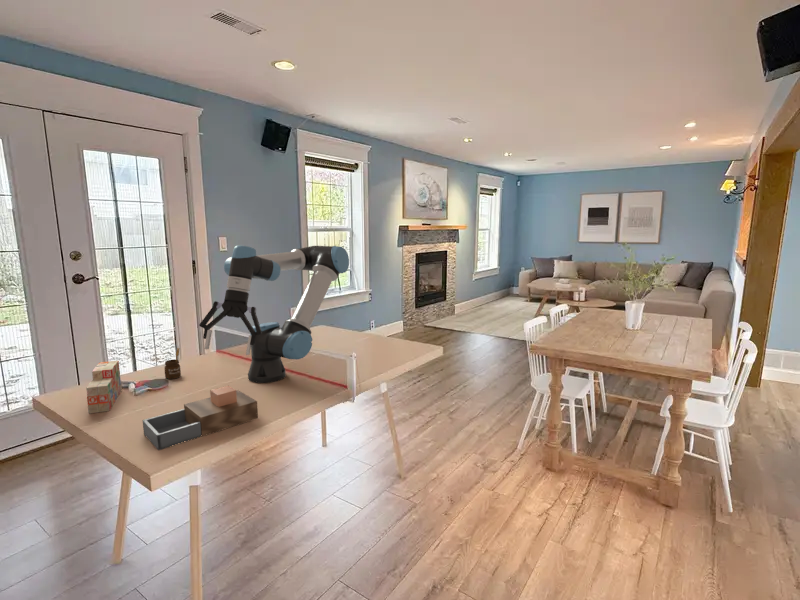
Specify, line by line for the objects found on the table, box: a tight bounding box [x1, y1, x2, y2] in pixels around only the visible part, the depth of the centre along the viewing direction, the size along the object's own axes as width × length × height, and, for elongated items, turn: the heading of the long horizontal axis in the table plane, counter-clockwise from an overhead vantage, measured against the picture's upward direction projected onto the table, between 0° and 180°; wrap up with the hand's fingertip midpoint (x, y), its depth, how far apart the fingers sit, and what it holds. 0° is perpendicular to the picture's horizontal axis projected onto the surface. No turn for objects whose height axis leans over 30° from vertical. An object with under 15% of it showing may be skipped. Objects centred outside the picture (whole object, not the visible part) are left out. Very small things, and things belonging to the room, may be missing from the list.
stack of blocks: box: [86, 360, 123, 414], centre depth 156 cm, size 21×6×12 cm, turn 23°
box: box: [142, 408, 202, 451], centre depth 131 cm, size 12×14×4 cm
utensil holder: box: [163, 347, 182, 380], centre depth 182 cm, size 6×6×12 cm
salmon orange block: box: [209, 385, 237, 407], centre depth 141 cm, size 6×6×4 cm
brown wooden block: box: [183, 389, 259, 437], centre depth 141 cm, size 18×14×6 cm
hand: (227, 351), depth 148 cm, fingers open, 13 cm apart
